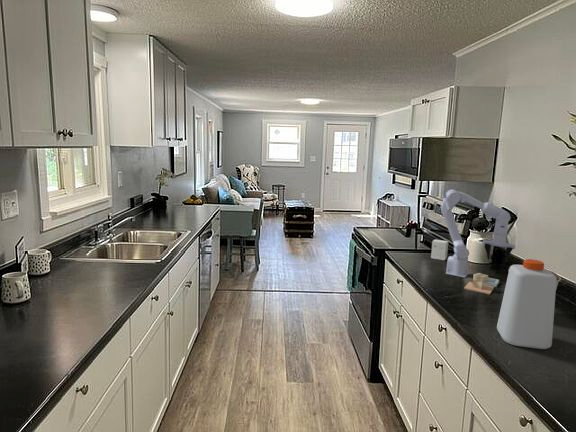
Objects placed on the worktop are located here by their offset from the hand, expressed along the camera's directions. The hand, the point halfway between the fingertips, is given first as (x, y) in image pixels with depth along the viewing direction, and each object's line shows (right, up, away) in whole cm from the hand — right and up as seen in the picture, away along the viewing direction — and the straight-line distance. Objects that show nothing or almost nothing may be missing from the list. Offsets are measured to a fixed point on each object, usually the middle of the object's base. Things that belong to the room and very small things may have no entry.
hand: (496, 260), depth 210 cm
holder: (-7, -10, -6) cm, 14 cm away
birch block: (-15, -11, -14) cm, 24 cm away
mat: (-16, -12, -14) cm, 24 cm away
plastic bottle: (-23, -21, -64) cm, 72 cm away
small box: (-16, -3, +36) cm, 39 cm away
